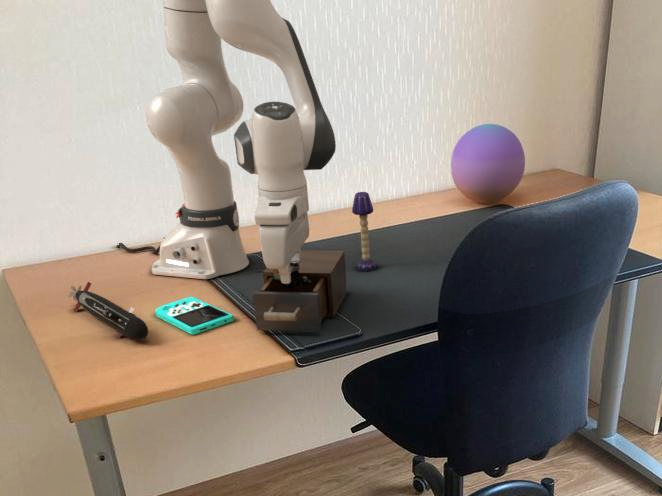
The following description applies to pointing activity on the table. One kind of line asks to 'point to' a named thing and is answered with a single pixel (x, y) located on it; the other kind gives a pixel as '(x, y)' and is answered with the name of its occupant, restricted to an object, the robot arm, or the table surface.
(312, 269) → the cabinet
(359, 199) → the toy lamp
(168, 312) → the handheld game console
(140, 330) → the submarine model
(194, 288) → the table surface
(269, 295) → the drawer
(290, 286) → the wireless earbuds
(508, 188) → the ball
